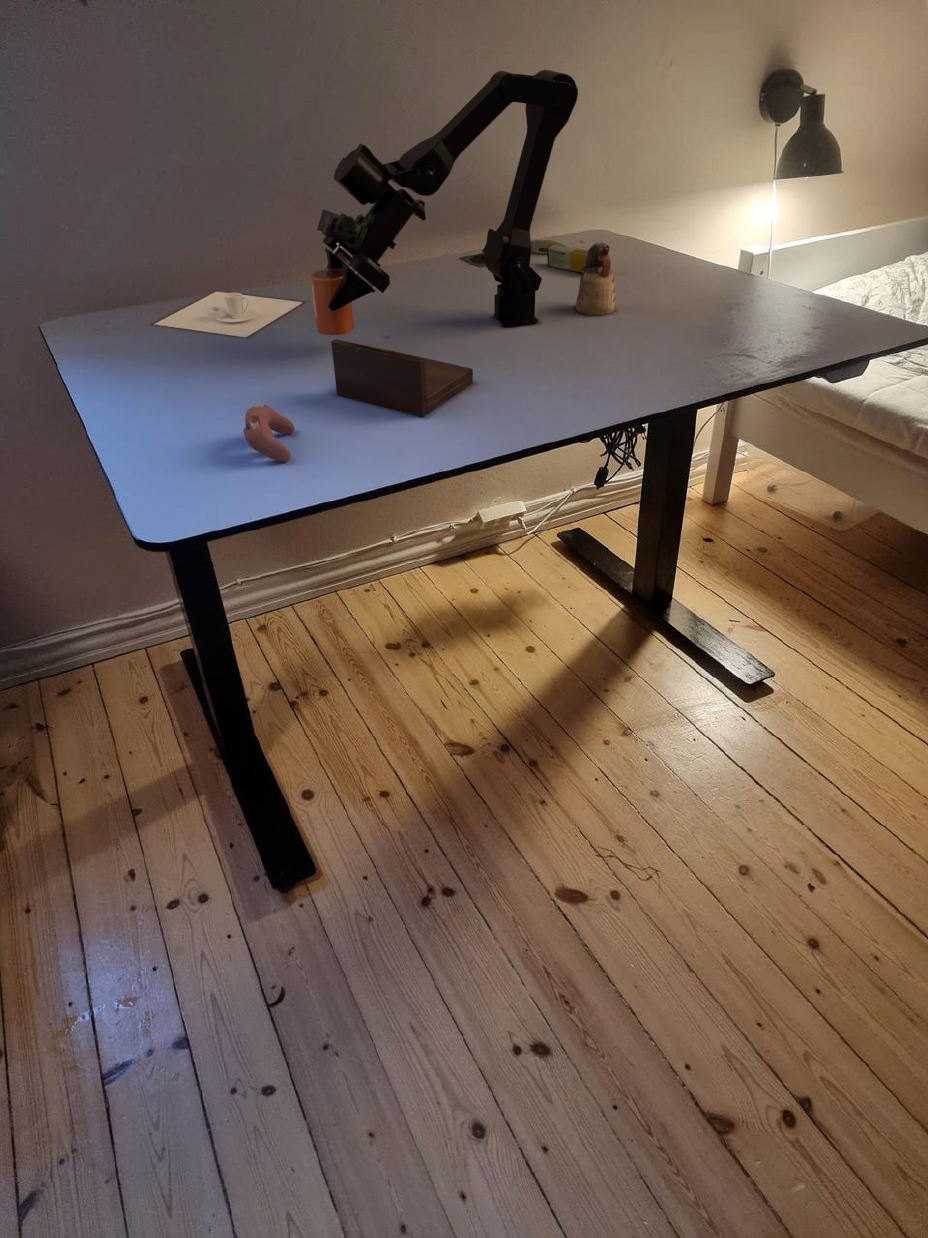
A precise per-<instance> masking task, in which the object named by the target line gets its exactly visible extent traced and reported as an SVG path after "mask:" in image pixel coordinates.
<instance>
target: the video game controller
mask: <svg viewBox="0 0 928 1238" xmlns="http://www.w3.org/2000/svg"><path fill="white" fill-rule="evenodd" d="M245 412H246V413H245V417H244V423H245V424H244V425H245V427H244V428H243V435H244V438H245V440H246V442H247V443H248V445H249V446H250V447H251V449H253V450H254V451H256V452H259V453H260V454H262V455H263V456H264V457H267V458H268V459H270V460H273V461H275V462H280V463H287V462H289V461H290V460H291V455H292V454H291V451H290V450H289V449H288V447H286V446H285V445H284V444H282V443H280V442H279V441H277V440H276V438H275V435H274V432H276V433H278V434H281V435H292V434H293V433H294V432H295V430H296V429H295V424H294V423H293V422H292V421H291V420H290V419H289V418H288V417H286V416H285V415H283V414H281V413H278V412H277V411H275V410H274V409H273V408H272V407H270V406H269V405H267V404H264V402H261V403H260V404H254V406H251V407H249V408H248V409H247V410H246V411H245Z"/></svg>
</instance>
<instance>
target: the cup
mask: <svg viewBox="0 0 928 1238" xmlns="http://www.w3.org/2000/svg"><path fill="white" fill-rule="evenodd" d="M343 277H344V273H343V270H342V269H326V268H324V269H319V270H315V271H313V272H312V273H311V274H310V283H311V284H310V285H311V293H312V302H313V309H314V316H315V323H316V331H317V332H318V334H321V335H323V336H331V337H332V336H333V337H335V336H342V335H346V334H349V333H351V332H352V331H354V329H355V324H354V315H353V303H352V302H353V301H352V302H350V303H348V304H346V305H344V306H343V307H341V308H339V309H337V310H335V311H332V310H330V309H329V308H328V305H329V303H330V301H331V299H332V297H333V296H334V294H335V292H336V290H337V288H338V287H339V285H340V283H341V281H342V280H343Z"/></svg>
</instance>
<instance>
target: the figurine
mask: <svg viewBox="0 0 928 1238" xmlns="http://www.w3.org/2000/svg"><path fill="white" fill-rule="evenodd" d="M587 250H588V255H587V259H586V263H585V266H583V267H582V270H583V271H584V272H583V273H582V272H581V275H580V279H579V286H578V292H577V297H576V303H575V307H576V311H577V312H578V313H580V314H583V315H587V316H606V315H610V314H612V313H614V311H615V308H616V285H615V276H614V272H613V270H612V268H611V265H612V264H611V263H612V261H611V256H610V255H609V253H610V250H611V247H610V245H608V244H607V243H606V242H604V241H600V242H599V241H597V242H595V244H593V245H591V246H590V247H589V249H587Z"/></svg>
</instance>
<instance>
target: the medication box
mask: <svg viewBox="0 0 928 1238" xmlns="http://www.w3.org/2000/svg"><path fill="white" fill-rule="evenodd" d="M588 250H589V249H584V248H578V247H574V246H567V245H562V244H557V243H552V244H550V245H548V246H547V247H546V256H547V267H554V268H559V269H564V270H568V271H573V272H578V273H581V274H582V273H583V272H584V271H583V270H582V267H583V266H585V263H586V259H587V255H588Z"/></svg>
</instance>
